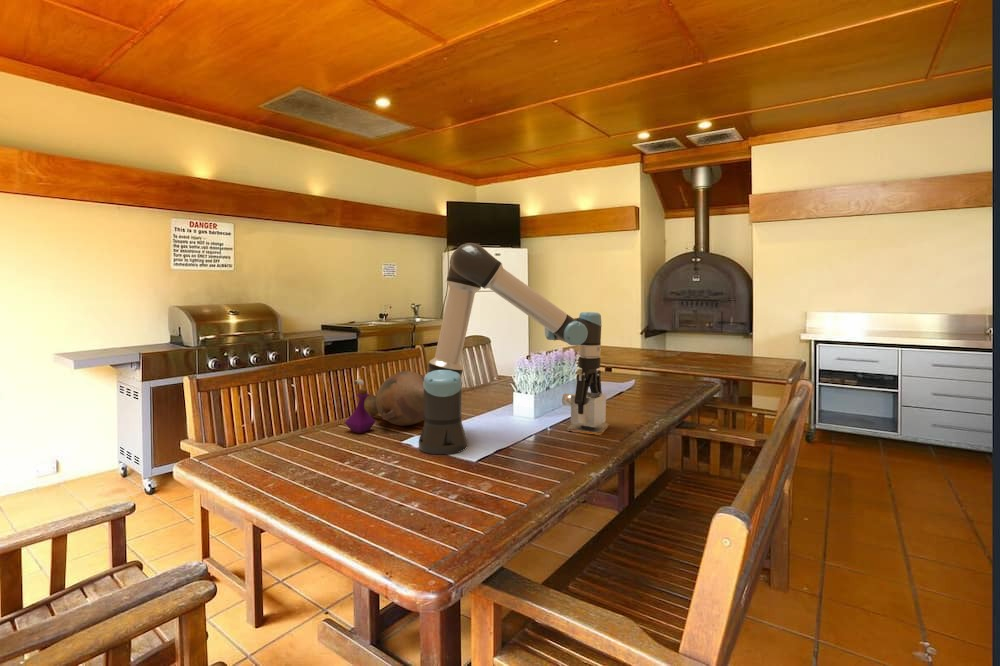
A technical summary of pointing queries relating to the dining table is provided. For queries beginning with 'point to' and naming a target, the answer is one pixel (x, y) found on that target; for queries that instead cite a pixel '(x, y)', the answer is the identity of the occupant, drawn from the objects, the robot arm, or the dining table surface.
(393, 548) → the dining table surface
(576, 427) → the duct stub
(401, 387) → the jug
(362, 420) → the perfume bottle
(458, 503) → the dining table surface
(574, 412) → the collar
